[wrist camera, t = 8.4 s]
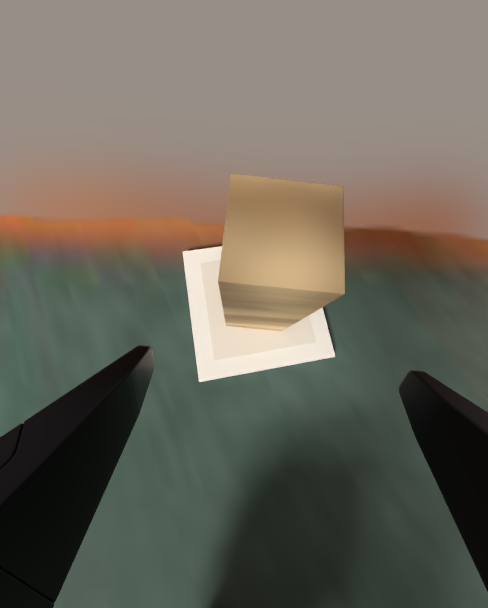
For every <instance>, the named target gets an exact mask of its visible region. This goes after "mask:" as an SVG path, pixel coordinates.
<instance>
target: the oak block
mask: <svg viewBox="0 0 488 608" xmlns="http://www.w3.org/2000/svg"><path fill="white" fill-rule="evenodd" d="M218 284H219V290H220V295H221V301H222V307H223V312H224V318H225V323H226V326H232V327H242V328H253V329H263V330H274V331H283V330H285V329H287V328H288V327H290V326H292V325H293V324H295V323H297V322H298V321H300V320H302V319H304V318H305V317H307V316H309V315H310V314H312V313H314V312H315V311H317V310H319V309H320V308H322V307H324V306H325V305H327V304H329V303H331V302H332V301H334V300H336V299H337V298H339V297H341V296H342V295H344V294H345V269H344V204H343V186H336V185H327V184H318V183H309V182H300V181H292V180H283V179H274V178H264V177H256V176H247V175H238V174H231V179H230V187H229V195H228V203H227V212H226V219H225V228H224V236H223V244H222V252H221V260H220V269H219V277H218Z"/></svg>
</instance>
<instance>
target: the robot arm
mask: <svg viewBox="0 0 488 608" xmlns="http://www.w3.org/2000/svg"><path fill="white" fill-rule="evenodd" d="M153 369H154V360H153V352H152V348H151V347H150V346H141V345H140V346H137V347H135V348H134V349H132V350H131V351H129V352H128V353H126V354H125V355H123V356H122V357H120V358H119V359H117V360H116V361H114V362H113V363H111V364H110V365H108V366H107V367H105V368H104V369H102V370H101V371H99V372H98V373H96V374H95V375H93V376H92V377H90V378H89V379H87V380H86V381H84V382H83V383H81V384H80V385H78V386H77V387H75V388H74V389H72V390H71V391H69V392H68V393H66V394H65V395H63V396H62V397H60V398H59V399H57V400H56V401H54V402H53V403H51V404H50V405H48V406H47V407H45V408H44V409H42V410H41V411H39V412H38V413H36V414H35V415H33V416H32V417H30V418H29V419H27V420H26V421H25V422H24V424H20V425H18V426H17V427H15V428H14V429H12V430H11V431H9V432H8V433H6V434H5V435H3V436H1V437H0V608H53V606H54V602H55V601H56V599H57V597H58V595H59V592H60V590H61V588H62V586H63V583H64V581H65V579H66V577H67V575H68V572H69V570H70V568H71V566H72V563H73V561H74V559H75V557H76V554H77V552H78V550H79V548H80V545H81V543H82V541H83V539H84V536H85V534H86V532H87V530H88V528H89V525H90V523H91V521H92V519H93V516H94V514H95V512H96V510H97V507H98V505H99V503H100V501H101V498H102V496H103V494H104V492H105V489H106V487H107V485H108V483H109V481H110V478H111V476H112V474H113V472H114V469H115V467H116V465H117V463H118V460H119V458H120V456H121V454H122V451H123V449H124V447H125V445H126V442H127V440H128V438H129V436H130V434H131V431H132V429H133V427H134V425H135V422H136V420H137V418H138V415H139V413H140V410H141V407H142V404H143V401H144V398H145V395H146V392H147V389H148V385H149V382H150V379H151V376H152V373H153ZM399 393H400V396H401V399H402V402H403V404H404V407H405V410H406V413H407V415H408V418H409V421H410V424H411V427H412V429H413V432H414V434H415V437H416V439H417V441H418V444H419V446H420V448H421V450H422V452H423V454H424V457H425V459H426V461H427V463H428V465H429V467H430V469H431V472H432V474H433V476H434V478H435V480H436V482H437V484H438V487H439V489H440V491H441V493H442V495H443V497H444V499H445V501H446V504H447V506H448V508H449V510H450V512H451V514H452V516H453V519H454V521H455V523H456V525H457V527H458V529H459V531H460V534H461V536H462V538H463V540H464V542H465V544H466V546H467V549H468V551H469V553H470V555H471V557H472V559H473V561H474V564H475V566H476V568H477V570H478V572H479V574H480V576H481V579H482V581H483V583H484V585H485V587H486V589H487V591H488V412H486V411H484V410H483V409H481V408H480V407H478V406H477V405H475V404H474V403H472V402H470V401H469V400H467V399H466V398H464V397H463V396H461V395H459V394H458V393H456V392H455V391H453V390H452V389H450V388H449V387H447V386H445V385H444V384H442V383H441V382H439V381H438V380H436V379H435V378H433V377H431V376H430V375H428V374H427V373H425V372H423V371H414V370H412V371H409V372H408V373H407V375H406V376H405V378H404V379H403V381H402V382H401V384H400V386H399Z"/></svg>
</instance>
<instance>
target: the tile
mask: <svg viewBox="0 0 488 608" xmlns="http://www.w3.org/2000/svg"><path fill="white" fill-rule="evenodd" d="M221 252H222V246H220V247H213V248H206V249H198V250H191V251H184V252H183V259H184V266H185V274H186V282H187V290H188V298H189V306H190V314H191V322H192V330H193V338H194V346H195V354H196V362H197V369H198V377H199V382H202V381H208V380H213V379H218V378H224V377H229V376H235V375H240V374H245V373H251V372H256V371H261V370H267V369H272V368H277V367H283V366H288V365H293V364H299V363H304V362H310V361H315V360H320V359H326V358H331V357H335V353H334V349H333V346H332V342H331V338H330V334H329V330H328V326H327V322H326V319H325V315H324V311H323V307H322V308H320V309H319V310H317V311H315V312H314V313H312V314H310V315H309V316H307V317H305V318H304V319H302V320H300V321H298V322H297V323H295V324H293V325H292V326H290V327H288V328H287V329H285V330H283V331H274V330H263V329H253V328H242V327H232V326H226V323H225V318H224V312H223V307H222V301H221V295H220V290H219V284H218V277H219V269H220V260H221Z"/></svg>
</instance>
